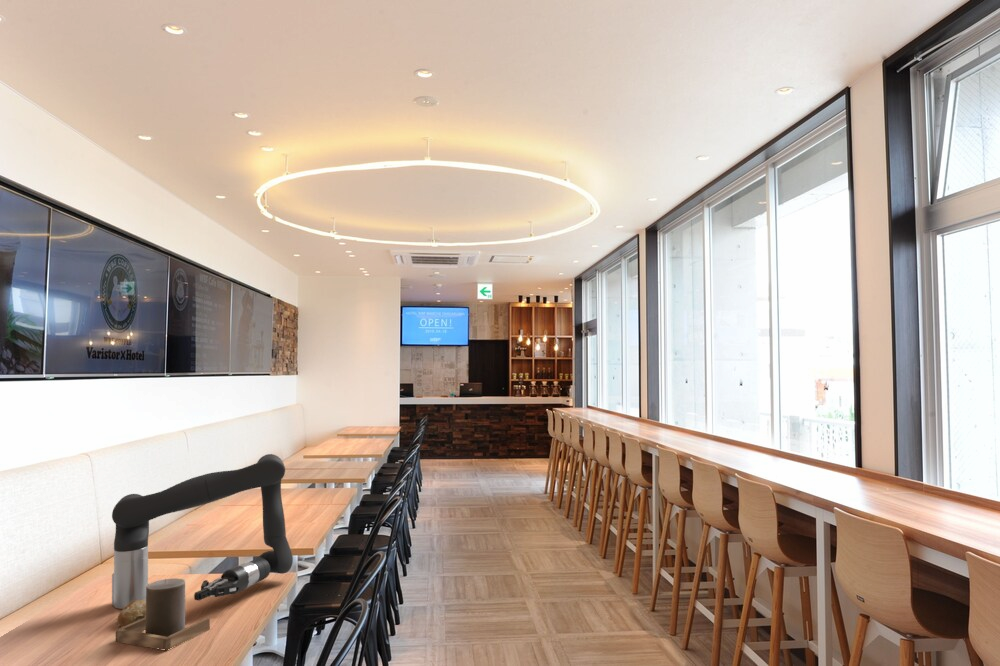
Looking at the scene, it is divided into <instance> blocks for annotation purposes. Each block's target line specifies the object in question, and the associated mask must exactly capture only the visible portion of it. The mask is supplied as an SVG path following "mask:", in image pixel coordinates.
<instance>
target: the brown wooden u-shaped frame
mask: <svg viewBox="0 0 1000 666" xmlns="http://www.w3.org/2000/svg"><path fill="white" fill-rule="evenodd" d="M210 621H211V619H210V617H205V618H202V619H201V620H199V621H197V622H195V623H193V624H191V625H189V626H186V627H185V629H182V630H180V631H178V632H176V633H174V634H172V635H170V636H168V637H165V636H160V635H154V634H148V633H145V632H144V630H145V631H146V617H145V618H143V619H140V620H138V621H136V622H133V623H131V624H129V625H127V626H124V627H122V628H121V627H120V628H118V629H115V642H116V643H122V644H126V645H131V644H132V646H136V645H138V647H142V646H143V647H142V648H147V647H152V648H159V649H165V650H168V649H170V648H172V647H174V646H176V647H178V646H180V645H182V644H183V642H184V643H186V642H188V641H190V640H192V639H194V638H196V637H198V636H200V635H201V633H202V634H203V632H204V633H205V632H207V631H209V630H211V625H210V624H211V622H210ZM199 634H200V635H199ZM195 636H196V637H195ZM193 637H194V638H193ZM191 638H192V639H191ZM189 639H190V640H189ZM187 640H188V641H187ZM185 641H186V642H185ZM181 643H182V644H181ZM179 644H180V645H179ZM177 645H178V646H177ZM152 648H151V649H152ZM174 648H175V647H174ZM172 649H173V648H172ZM170 650H171V649H170ZM168 651H169V650H168Z"/></svg>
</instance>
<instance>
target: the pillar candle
mask: <svg viewBox="0 0 1000 666" xmlns="http://www.w3.org/2000/svg"><path fill="white" fill-rule="evenodd" d="M185 628H186V580H185V579H184V578H173V577H172V578H165V579H158V580H155V581H152V582H150V583H148V585H147V586H146V630H145V632H144V633H148V634H154V635H160V636H165V637H168V636H170V635H172V634H174V633H176V632H178V631H180V630H182V629H185Z"/></svg>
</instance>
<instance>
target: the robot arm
mask: <svg viewBox="0 0 1000 666" xmlns="http://www.w3.org/2000/svg"><path fill="white" fill-rule="evenodd" d="M285 474H286V467H285V464H284V462H283V460H282V459H281V458H280V457H279V456H278V455H276V454H272V453H271V454H269V453H268V454H265V455H262V456H261V457H260V458H259V459H258V460H257V462H255V463H253V464H251V465H248V466H245V467H242V468H238V469H233V470H223V471H222V470H221V471H215V472H210V473H205V474H202V475H198V476H195V477H194V476H193V477H191V478H189V479H186V480H184V481H183V480H182V481H181V482H179V483H176V484H175V485H173V486H169V487H168V488H167V489H164V490H161V491H158V492H155V493H151V494H147V495H141V494H139V493H129V494H126V495H124V496H122V498H120V499H119V500H118V502H117V503H116V504H115V505H114V507H113V509H112V512H111V518H112V521H113V523H114V524H115V534H114V535H115V536H114V541H113V573H112V574H111V605H112V606H114V608H115V609H119V610H120V609H121V610H123V608H125V607H126V606H127V605H128V604H130V603H131V602H133V601H136V600H146V586H147V585H148V584H149V532H150V521H151V520H154V519H157V518H159V517H162V516H164V515H169V514H172V513H177V512H182V511H184V510H190V509H193V508H196V507H200V506H204V505H206V504H210V503H214V502H217V501H220V500H223V499H225V498H228V497H231V496H233V495H235V494H236V495H237V494H239V493H241V492H244V491H248V490H253V489H257V488H260V492H261V501H262V503H261V504H262V532H263V541H264V544H265V545H266V546H268V547H269V548H272V550H267V551H265V552H262V553H261V554H260V555H259V556H258V557H256V558H255V559H253V560H251V561H247V562H243V563H241V564H238V565H236V566H234V567H232V568H229V569H227V570H225V571H224V572H223V573H222V575H221V576H220V577H218V578H216V579H213V581H211V582H209V580H207V579H206V580H205V579H204V580H203V581H202V583H201V585H200V590H198V591H196V592H194V595H193V599H194V601H198V602H199V601H202V600H204V599H206V598H212V597H215V598H218V597H223V596H228V595H229V596H230V595H232V596H233V595H235V594H238V593H240V592H242V591H244V590H246V589H248V588H250V587H252V586H253V585H255V584H257V583H259V582H261V581H264V580H265V579H267V577H269V575H270V573H271V574H272V573H273V574H282V575H283V574H286V573H288V572H290V570H291V568H292V567H293V563H294V558H293V552H292V549H291V547H290V544H289V542H288V538H287V535H286V534H287V533H286V520H285V513H284V512H285V511H284V507H283V500H282V479H283V478H284V477H285Z"/></svg>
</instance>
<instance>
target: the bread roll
mask: <svg viewBox="0 0 1000 666" xmlns="http://www.w3.org/2000/svg"><path fill="white" fill-rule="evenodd" d="M145 617H146V600H136V601H133V602H131V603H130V604H128V605H127V606H126V607H125V608H123V609H121V611H120V612H119V613H118V615H117V624H118V626H120V628H121V627H124V626H127V625H129V624H131V623H133V622H136V621H138V620H140V619H143V618H145Z"/></svg>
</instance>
